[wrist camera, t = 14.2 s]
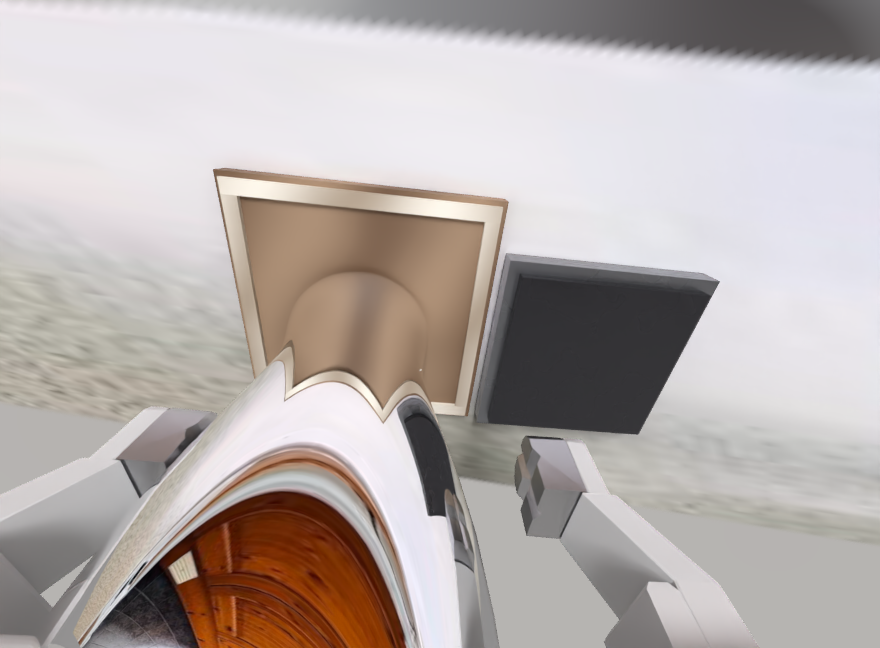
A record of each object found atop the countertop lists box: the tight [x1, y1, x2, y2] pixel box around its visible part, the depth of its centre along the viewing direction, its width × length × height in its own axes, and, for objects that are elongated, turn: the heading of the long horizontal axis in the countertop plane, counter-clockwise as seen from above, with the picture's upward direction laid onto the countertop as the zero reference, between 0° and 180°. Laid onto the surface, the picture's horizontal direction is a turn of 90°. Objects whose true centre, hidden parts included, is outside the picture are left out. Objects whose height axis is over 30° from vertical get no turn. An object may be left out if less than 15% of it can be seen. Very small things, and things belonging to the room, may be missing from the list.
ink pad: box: [475, 253, 720, 435], centre depth 16 cm, size 9×9×2 cm
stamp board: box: [213, 168, 508, 416], centre depth 15 cm, size 11×11×1 cm
